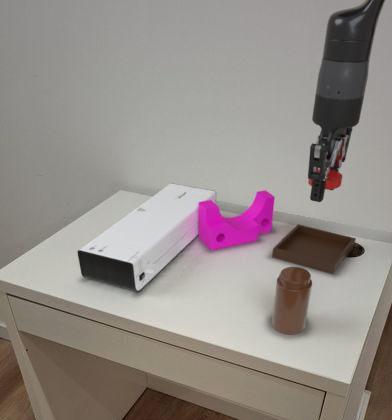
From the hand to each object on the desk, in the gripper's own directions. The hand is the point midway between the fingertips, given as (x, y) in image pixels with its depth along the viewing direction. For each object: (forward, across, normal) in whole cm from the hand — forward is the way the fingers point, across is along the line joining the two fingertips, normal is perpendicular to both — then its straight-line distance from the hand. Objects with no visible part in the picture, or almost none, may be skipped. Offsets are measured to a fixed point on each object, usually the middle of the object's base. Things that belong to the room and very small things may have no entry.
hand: (322, 194), depth 87 cm
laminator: (+12, -14, +27) cm, 33 cm away
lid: (-3, 0, 0) cm, 3 cm away
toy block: (+12, -2, +16) cm, 20 cm away
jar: (+12, -25, -6) cm, 28 cm away
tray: (+12, 0, 0) cm, 12 cm away
